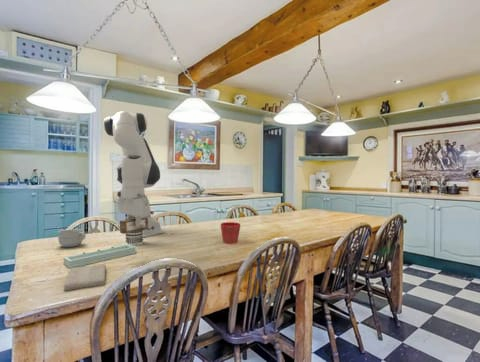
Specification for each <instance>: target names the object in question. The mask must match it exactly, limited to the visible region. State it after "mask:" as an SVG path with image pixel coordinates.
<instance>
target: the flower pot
mask: <svg viewBox="0 0 480 362" xmlns="http://www.w3.org/2000/svg"><path fill="white" fill-rule="evenodd" d="M240 229H241V223H239V222H234V221H233V222H232V221H231V222H229V221H227V222H222V223H220V230H221V231H220V232H221V237H222V242H223V243H224V244H237V243H238V241H239V237H240Z"/></svg>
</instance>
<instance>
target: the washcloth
mask: <svg viewBox="0 0 480 362" xmlns="http://www.w3.org/2000/svg"><path fill="white" fill-rule="evenodd" d="M106 267H107V265H106V264H105V263H100V264H96V265H83V266H78V267H74V268H70V269H69V271H68V272H67V275H66V276H65V280H64V286H63V289H64V291H72V290H73V289H74V290H78V288H79V289H84V288H83V287H86V288H92V286H93V287H98V285H100V286H104V285H105V284H106V271H107V270H106V269H107V268H106ZM74 290H73V291H74Z"/></svg>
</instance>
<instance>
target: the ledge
mask: <svg viewBox="0 0 480 362" xmlns="http://www.w3.org/2000/svg"><path fill="white" fill-rule="evenodd" d="M134 254H137V250H136V246H131V245H126V244H125V245H119V246H112V247H110V248H103V249H97V250H94V251H88V252H82V253H79V254H78V253H77V254H72V255H69V256H65V257H63V265H65V266H66V267H68V268H69V269H72V268H76V267H81V266H88V265H90V264H91V265H92V264H94V263H100V262H103V261H107V260H112V259H117V258H120V257H125V256H129V255H134Z"/></svg>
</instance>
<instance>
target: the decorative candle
mask: <svg viewBox="0 0 480 362" xmlns="http://www.w3.org/2000/svg"><path fill="white" fill-rule="evenodd" d="M124 217H125V219H124V220H128V218H127V214H124ZM133 219H135V216H133ZM142 231H143V230H141V231H136V232H131V233H126V234H125V242H126V243H125V245H131V246H133V247H135V246H139V245H142V244H144V242H143V241H144V239H143V238H144V237H143V236H142V234H143V233H142Z"/></svg>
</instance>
